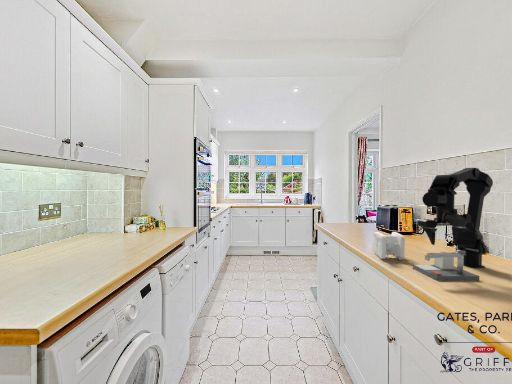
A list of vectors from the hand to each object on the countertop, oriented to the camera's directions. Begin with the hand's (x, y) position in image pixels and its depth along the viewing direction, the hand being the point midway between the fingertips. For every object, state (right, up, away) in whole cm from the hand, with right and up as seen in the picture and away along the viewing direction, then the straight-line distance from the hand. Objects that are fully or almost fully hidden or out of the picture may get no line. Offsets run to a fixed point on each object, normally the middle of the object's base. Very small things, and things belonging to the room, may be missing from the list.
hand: (444, 244), depth 103 cm
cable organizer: (-12, -11, +21) cm, 27 cm away
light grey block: (0, -9, 0) cm, 9 cm away
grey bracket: (-6, -9, -9) cm, 14 cm away
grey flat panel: (-2, -11, -3) cm, 11 cm away
